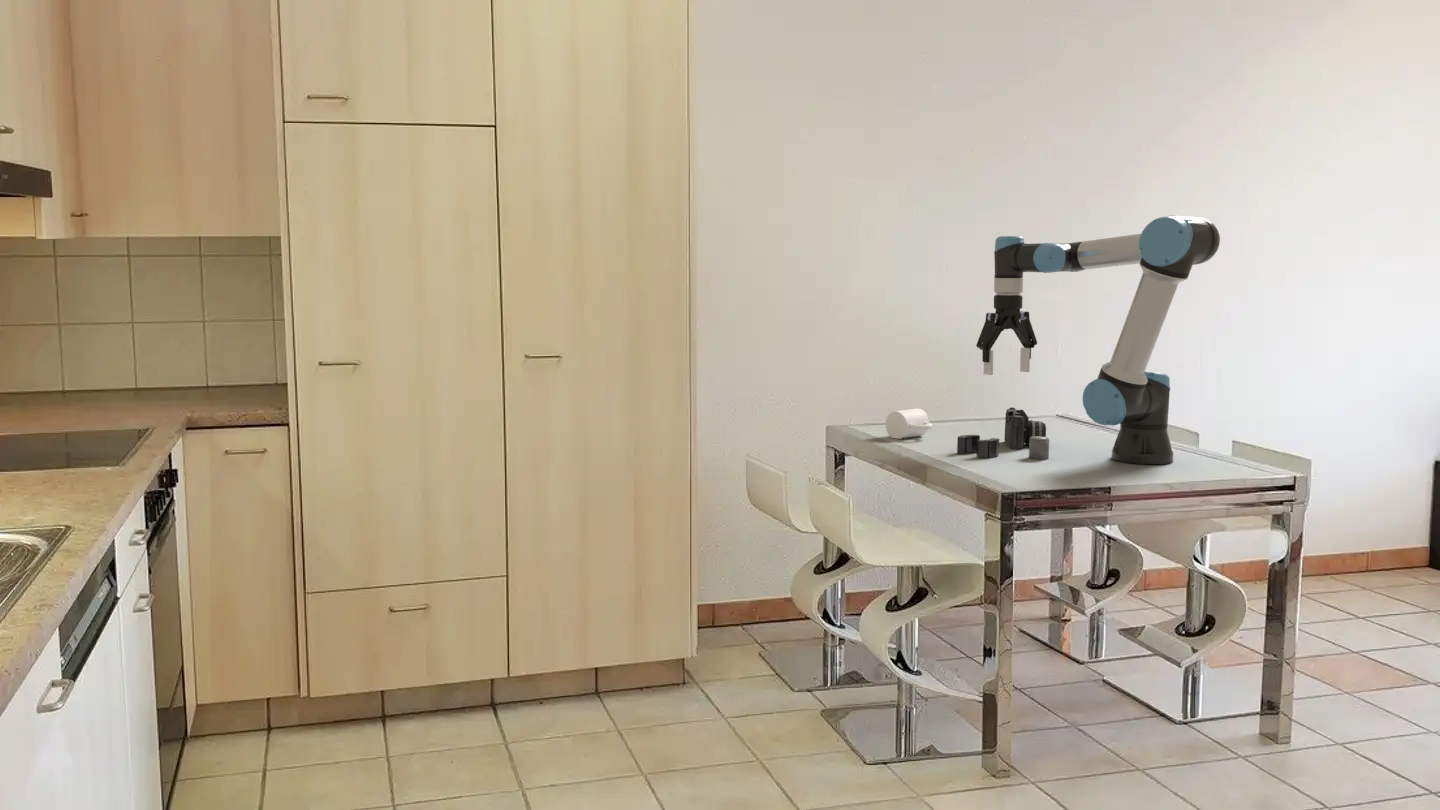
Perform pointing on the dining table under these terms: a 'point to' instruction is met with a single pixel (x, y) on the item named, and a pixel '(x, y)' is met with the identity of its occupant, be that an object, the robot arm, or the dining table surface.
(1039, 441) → the grey cylinder block
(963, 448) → the clustered grey blocks
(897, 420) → the mug
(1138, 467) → the dining table surface
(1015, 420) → the camera
